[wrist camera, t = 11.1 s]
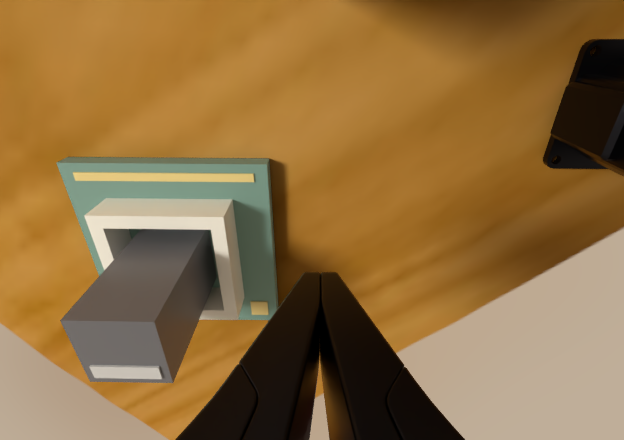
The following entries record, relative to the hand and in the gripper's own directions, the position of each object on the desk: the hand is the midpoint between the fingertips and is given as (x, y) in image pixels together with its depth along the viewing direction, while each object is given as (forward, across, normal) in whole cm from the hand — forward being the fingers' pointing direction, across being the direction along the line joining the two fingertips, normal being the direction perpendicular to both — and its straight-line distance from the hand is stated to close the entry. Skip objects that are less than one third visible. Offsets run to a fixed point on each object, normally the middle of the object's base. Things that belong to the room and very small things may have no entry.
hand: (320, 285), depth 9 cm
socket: (+12, +9, +7) cm, 17 cm away
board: (+12, +9, +7) cm, 17 cm away
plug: (+12, +9, +7) cm, 16 cm away
